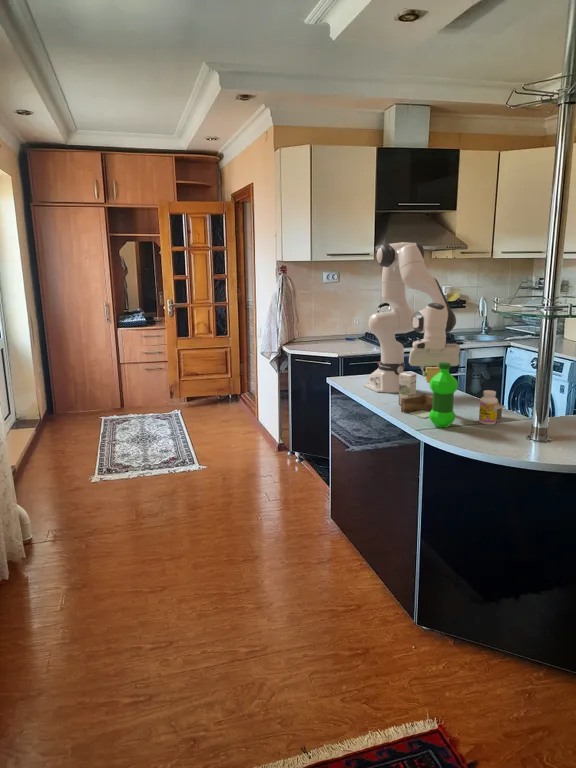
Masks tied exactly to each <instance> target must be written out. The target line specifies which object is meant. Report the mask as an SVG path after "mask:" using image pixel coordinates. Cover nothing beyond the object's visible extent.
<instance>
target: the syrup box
mask: <svg viewBox="0 0 576 768" xmlns="http://www.w3.org/2000/svg"><path fill="white" fill-rule="evenodd" d="M416 391H417V373H416V372H409V371H404V372H403V373H401V374H399V392H398V405H399V406H401V398H406V397H411V396H416V395H417V393H416Z"/></svg>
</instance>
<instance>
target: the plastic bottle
mask: <svg viewBox="0 0 576 768" xmlns="http://www.w3.org/2000/svg"><path fill="white" fill-rule="evenodd" d="M438 367H439V368H440V372H439V373H438V374H436V375H435V376H434V377H433V378H432V379H431V380H430V383H429V388H430V390H431V391H432V396H433V400H432V410H431V411H429V412H430V414H429V417H428V418H429V420H430V421H431V423H432V424H433V425H434V426H435V425H436V426H435V427H437V426H438V428H448V427H449V426H450V425H451V424H453V422H454V421H455V419H456V414H455V412H454V401H455V400H454V396H455V392H456V391H457V390H458V388H459V383H458V380H457V379H456V378H455V377H454V375H452V373H450V371H449V370H450V369H451V366H450V363H445V362H442V363H439V366H438ZM447 426H448V427H447Z"/></svg>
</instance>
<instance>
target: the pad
mask: <svg viewBox="0 0 576 768" xmlns="http://www.w3.org/2000/svg"><path fill="white" fill-rule="evenodd" d="M409 414H410V415H412V414H413V415H412V416H415V417H417V418H421V419H428V418H430V417H429V414H430V411H429V410H426V409H421V410H416V411H412V412H409ZM427 417H428V418H427Z"/></svg>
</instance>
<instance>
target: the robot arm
mask: <svg viewBox="0 0 576 768" xmlns="http://www.w3.org/2000/svg"><path fill="white" fill-rule="evenodd" d="M424 258H425V250H424V247H423V245H422V243H419V242H408V241H407V242H406V241H405V242H404V241H401V242H394V243H384V244H380V245H379V246H378V248H377V251H376V262H377V263H378V265H379V267H382V271H381V299H382V300H383V302H384V303H386V304H388V305H389V307H390V308H391V309H390V311H380V312H375V313H373V314H371V315H370V317H369V319H368V323H367V325H368V329H369V331H370V332H371V334H373V335H374V336H375V337H376V339H377V340H378V342H379V345H380V361H377V365H378V368H377V369H375V370H374V371H373V372H371V373H370V374H369V377H368V382H365V383H364V384H363V387H365V388H367V389H369V390H372V391H374V392H376V393H390V394H392V393H394V394H395V393H399V374H401V373H403V372H405V371H404V370H405V365H406V363H405V361H404V360H405V359H404V357H405V348H404V345H403V344H402V343H401V342H399V341H398V340H396V335H397V334H398V335H399V334H407V333H411V332H413V331H415V332H416V333H420V334H424V335H423V338H422V339H418V340H415V341H413V342H412V347H411V349H410V351H409V357H408V364H409V365H410V367H419V369H421V372H422V377H426V376H427V372H426V371H425V370H424V369H425V367H439V363H442V362H445V363H450V367H457V366H458V365H459V364H460V355H459V354H460V352H461V347H460V345H459V344H457V343H447V334H449V333H450V332H451V331H452V330H453V329H454V328H455V326H456V324H457V317H456V314H455V313H454V311H453V309H451V306H450V305H449V303H448V300H447V298H446V296H445V294H444V291H443V290H442V287H441V285H440V283H439V281H438V279H437V278H436V277H434V276H433V275H432V274H431V273H430V271H428V269H427V267H426V264H425V260H424ZM406 287H408V288H409V289H412V290H416V291H419V292H422V293H425V294H426V295H428V296H429V298H431V301H432V302H431V303H428V304H426V306H425V308H423V309H421V310H417V311H415V312H414V311H413V310H412V309H411V308H410V306H409V304H408V301H407V297H406V296H407V295H406Z"/></svg>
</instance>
